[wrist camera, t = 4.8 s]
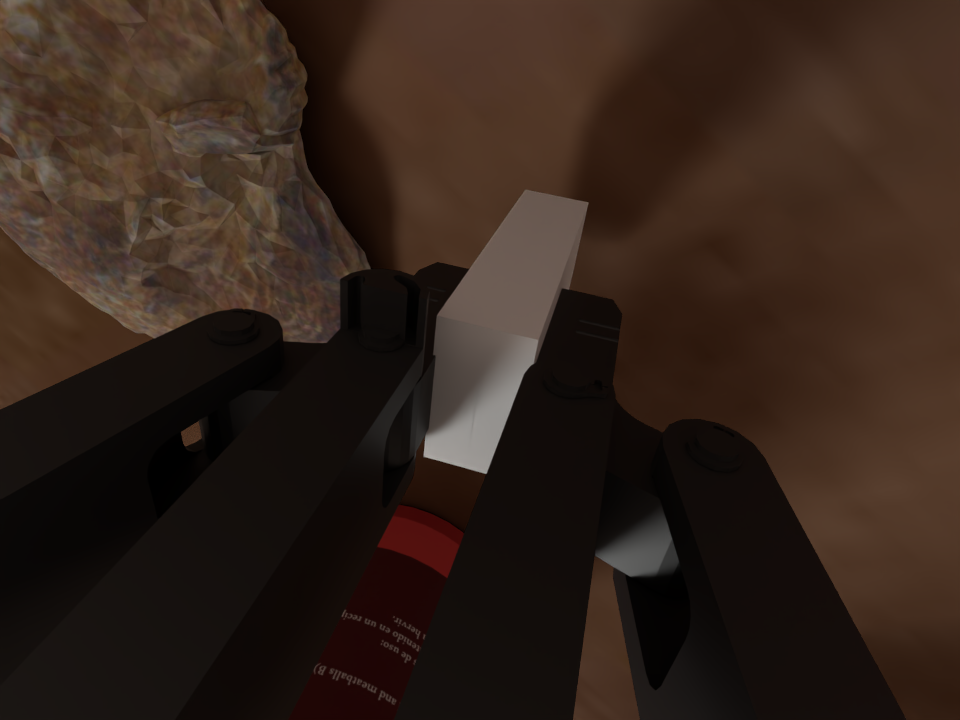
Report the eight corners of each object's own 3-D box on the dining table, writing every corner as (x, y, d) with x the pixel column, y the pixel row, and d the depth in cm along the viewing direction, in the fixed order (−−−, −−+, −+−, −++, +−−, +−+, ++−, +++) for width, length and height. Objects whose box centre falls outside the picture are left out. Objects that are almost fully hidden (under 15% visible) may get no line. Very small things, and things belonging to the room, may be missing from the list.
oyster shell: (170, 357, 22) (58, 441, 18) (-25, -48, 16) (-259, -60, 12) (410, 351, 19) (340, 450, 15) (281, -146, 13) (108, -204, 9)
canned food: (353, 625, 27) (198, 940, 18) (298, 491, 24) (68, 804, 15) (518, 646, 25) (434, 1019, 16) (486, 501, 21) (351, 883, 12)
